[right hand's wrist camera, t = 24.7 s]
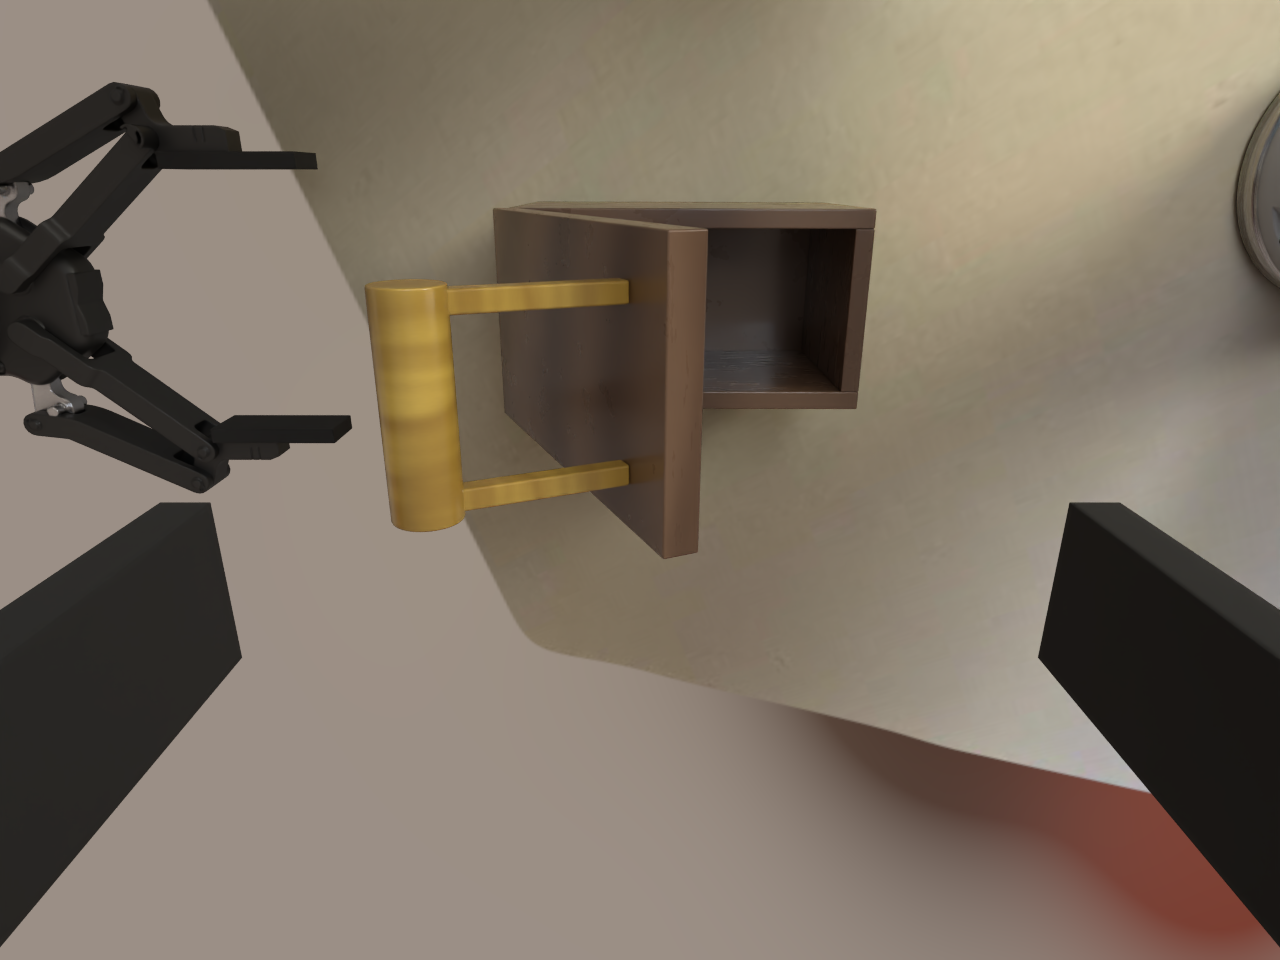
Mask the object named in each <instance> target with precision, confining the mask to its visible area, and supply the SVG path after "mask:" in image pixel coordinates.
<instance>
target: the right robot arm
mask: <svg viewBox="0 0 1280 960" xmlns="http://www.w3.org/2000/svg"><path fill="white" fill-rule="evenodd" d="M1237 217H1238V224H1239V229H1240V234H1241V237H1242V240H1243V243H1244V246H1245V248H1246V250H1247V252H1248V255H1249V256H1250V258H1251V260H1252V261H1253V263H1254V264H1255V266H1256V267H1257V268H1258V270H1259V271H1260V272H1261V273H1262V274H1263V275H1264V276H1265V277H1266V278H1267V279H1268V280H1269V281H1270V282H1272V283H1273V284H1274V285H1276V286H1277V287H1279V288H1280V93H1279V94H1278V95H1277V97H1276V98H1275V99H1274V101H1273V102H1272V103H1271V105H1270V106H1269V108H1268V109H1267V111H1266V112H1265V114H1264V116H1263V117H1262V119H1261V121H1260V123H1259V124H1258V126H1257V128H1256V130H1255V132H1254V134H1253V136H1252V139H1251V141H1250V143H1249V146H1248V149H1247V151H1246V154H1245V157H1244V160H1243V164H1242V167H1241V172H1240V177H1239V182H1238V191H1237ZM241 658H242V655H241V650H240V646H239V641H238V636H237V631H236V626H235V621H234V616H233V611H232V606H231V601H230V596H229V592H228V587H227V582H226V577H225V572H224V567H223V562H222V557H221V553H220V548H219V543H218V538H217V533H216V528H215V523H214V518H213V513H212V508H211V503H159V504H158V505H156V506H154V507H153V508H151V509H150V510H149V511H147V512H145V513H144V514H142V515H141V516H140V517H138V518H137V519H135V520H134V521H132V522H131V523H129V524H128V525H126V526H125V527H123V528H122V529H120V530H119V531H117V532H116V533H114V534H113V535H111V536H110V537H108V538H107V539H105V540H104V541H102V542H101V543H99V544H98V545H96V546H95V547H93V548H92V549H90V550H89V551H87V552H86V553H84V554H83V555H81V556H80V557H78V558H77V559H76V560H74V561H72V562H71V563H69V564H68V565H67V566H65V567H64V568H62V569H61V570H59V571H58V572H56V573H55V574H53V575H52V576H50V577H49V578H47V579H46V580H44V581H43V582H41V583H40V584H38V585H37V586H35V587H34V588H32V589H31V590H29V591H28V592H26V593H25V594H23V595H22V596H20V597H19V598H17V599H16V600H14V601H13V602H11V603H10V604H8V605H7V606H5V607H4V608H2V609H1V610H0V947H1V946H2V944H3V943H4V942H5V941H6V940H7V938H8V937H9V936H10V935H11V934H12V932H13V931H14V930H15V929H16V928H17V926H18V925H19V924H20V923H21V922H22V920H23V919H24V918H25V917H26V916H27V914H28V913H29V912H30V911H31V910H32V908H33V907H34V906H35V905H36V904H37V902H38V901H39V900H40V899H41V898H42V896H43V895H44V894H45V893H46V892H47V890H48V889H49V888H50V887H51V886H52V885H53V883H54V882H55V881H56V880H57V878H58V877H59V876H60V875H61V874H62V872H63V871H64V870H65V869H66V868H67V866H68V865H69V864H70V863H71V862H72V861H73V859H74V858H75V857H76V856H77V855H78V853H79V852H80V851H81V850H82V849H83V847H84V846H85V845H86V844H87V843H88V841H89V840H90V839H91V838H92V837H93V835H94V834H95V833H96V832H97V831H98V829H99V828H100V827H101V826H102V825H103V823H104V822H105V821H106V820H107V819H108V817H109V816H110V815H111V814H112V813H113V811H114V810H115V809H116V808H117V807H118V805H119V804H120V803H121V802H122V801H123V799H124V798H125V797H126V796H127V795H128V793H129V792H130V791H131V790H132V789H133V787H134V786H135V785H136V784H137V783H138V781H139V780H140V779H141V778H142V777H143V775H144V774H145V773H146V772H147V771H148V769H149V768H150V767H151V766H152V765H153V763H154V762H155V761H156V760H157V759H158V757H159V756H160V755H161V754H162V753H163V751H164V750H165V749H166V748H167V747H168V746H169V744H170V743H171V742H172V741H173V740H174V738H175V737H176V736H177V735H178V734H179V732H180V731H181V730H182V729H183V728H184V726H185V725H186V724H187V723H188V722H189V720H190V719H191V718H192V717H193V715H194V714H195V713H196V712H197V711H198V710H199V708H200V707H201V706H202V705H203V703H204V702H205V701H206V700H207V699H208V698H209V696H210V695H211V694H212V693H213V692H214V690H215V689H216V688H217V687H218V686H219V684H220V683H221V682H222V681H223V680H224V678H225V677H226V676H227V675H228V674H229V672H230V671H231V670H232V669H233V668H234V666H235V665H236V664H237V663H238V662H239V660H240V659H241ZM1038 658H1039V659H1040V660H1041V662H1042V663H1043V664H1044V665H1045V666H1046V668H1047V669H1048V670H1049V671H1050V672H1051V674H1052V675H1053V676H1054V677H1055V678H1056V680H1057V681H1058V682H1059V683H1060V684H1061V686H1062V687H1063V688H1064V689H1065V690H1066V692H1067V693H1068V694H1069V695H1070V696H1071V698H1072V699H1073V700H1074V701H1075V702H1076V704H1077V705H1078V706H1079V707H1080V708H1081V710H1082V711H1083V712H1084V713H1085V714H1086V716H1087V717H1088V718H1089V719H1090V720H1091V722H1092V723H1093V724H1094V725H1095V726H1096V728H1097V729H1098V730H1099V731H1100V732H1101V734H1102V735H1103V736H1104V737H1105V738H1106V740H1107V741H1108V742H1109V743H1110V744H1111V746H1112V747H1113V748H1114V749H1115V750H1116V752H1117V753H1118V754H1119V755H1120V756H1121V758H1122V759H1123V760H1124V761H1125V762H1126V763H1127V765H1128V766H1129V767H1130V768H1131V769H1132V771H1133V772H1134V773H1135V774H1136V775H1137V777H1138V778H1139V779H1140V780H1141V781H1142V783H1143V784H1144V785H1145V786H1146V787H1147V789H1148V790H1149V791H1150V792H1151V793H1152V795H1153V796H1154V797H1155V798H1156V799H1157V801H1158V802H1159V803H1160V804H1161V805H1162V807H1163V808H1164V809H1165V810H1166V811H1167V813H1168V814H1169V815H1170V816H1171V817H1172V819H1173V820H1174V821H1175V822H1176V823H1177V825H1178V826H1179V827H1180V828H1181V829H1182V831H1183V832H1184V833H1185V834H1186V835H1187V837H1188V838H1189V839H1190V840H1191V841H1192V843H1193V844H1194V845H1195V846H1196V847H1197V848H1198V850H1199V851H1200V852H1201V853H1202V855H1203V856H1204V857H1205V858H1206V859H1207V860H1208V862H1209V863H1210V864H1211V865H1212V867H1213V868H1214V869H1215V870H1216V871H1217V872H1218V874H1219V875H1220V876H1221V877H1222V878H1223V880H1224V881H1225V882H1226V883H1227V885H1228V886H1229V887H1230V888H1231V889H1232V890H1233V892H1234V893H1235V894H1236V895H1237V896H1238V898H1239V899H1240V900H1241V901H1242V902H1243V904H1244V905H1245V906H1246V907H1247V908H1248V910H1249V911H1250V912H1251V913H1252V914H1253V916H1254V917H1255V918H1256V919H1257V920H1258V922H1259V923H1260V924H1261V925H1262V926H1263V927H1264V929H1265V930H1266V931H1267V932H1268V934H1269V935H1270V936H1271V937H1272V938H1273V940H1274V941H1275V942H1276V943H1277V944H1278V946H1279V947H1280V610H1279V609H1278V608H1276V607H1275V606H1273V605H1272V604H1270V603H1269V602H1267V601H1266V600H1264V599H1263V598H1261V597H1260V596H1258V595H1257V594H1255V593H1254V592H1252V591H1251V590H1249V589H1248V588H1246V587H1245V586H1243V585H1242V584H1240V583H1239V582H1237V581H1236V580H1234V579H1233V578H1231V577H1230V576H1228V575H1227V574H1225V573H1224V572H1222V571H1221V570H1219V569H1218V568H1216V567H1215V566H1214V565H1212V564H1211V563H1209V562H1208V561H1206V560H1205V559H1203V558H1202V557H1200V556H1199V555H1197V554H1196V553H1194V552H1193V551H1191V550H1190V549H1188V548H1187V547H1185V546H1184V545H1182V544H1181V543H1179V542H1178V541H1176V540H1175V539H1173V538H1172V537H1170V536H1169V535H1167V534H1166V533H1164V532H1163V531H1161V530H1160V529H1158V528H1157V527H1155V526H1154V525H1152V524H1151V523H1149V522H1148V521H1146V520H1145V519H1143V518H1142V517H1140V516H1139V515H1138V514H1136V513H1135V512H1133V511H1132V510H1130V509H1129V508H1127V507H1126V506H1124V505H1123V504H1121V503H1069V508H1068V513H1067V518H1066V523H1065V528H1064V533H1063V538H1062V543H1061V547H1060V552H1059V557H1058V562H1057V567H1056V572H1055V577H1054V582H1053V587H1052V592H1051V596H1050V601H1049V606H1048V611H1047V616H1046V621H1045V626H1044V631H1043V636H1042V641H1041V646H1040V650H1039V655H1038Z"/></svg>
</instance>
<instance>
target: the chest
mask: <svg viewBox="0 0 1280 960" xmlns="http://www.w3.org/2000/svg"><path fill="white" fill-rule="evenodd" d="M511 208H522V209H531V210H540V211H549V212H559V213H568V214H577V215H586V216H595V217H605V218H614V219H623V220H632V221H641V222H651V223H660V224H669V225H678V226H687V227H697V228H706V229H707V230H708V250H707V281H706V313H705V344H704V376H703V407H702V408H718V409H856V407H857V398H858V388H859V379H860V369H861V359H862V349H863V339H864V330H865V320H866V310H867V300H868V290H869V280H870V271H871V261H872V251H873V241H874V231H875V230H874V228H875V220H876V209H871V208H863V207H855V206H846V205H838V204H830V203H769V202H534V203H530V204H525V205H520V206H515V207H511Z"/></svg>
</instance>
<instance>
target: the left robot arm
mask: <svg viewBox="0 0 1280 960" xmlns="http://www.w3.org/2000/svg"><path fill="white" fill-rule="evenodd" d="M159 107H160V100H159V98H158V95H157V94H156V93H155V92H154V91H153V90H151V89H149V88H144V87H139V86H134V85H128V84H123V83H116V82H112V83H109V84H108V85H106V86H104V87H103V88H101V89H100V90H98V91H96V92H95V93H93V94H92V95H90V96H88V97H87V98H85V99H84V100H82V101H81V102H79V103H77V104H76V105H74V106H73V107H71V108H69V109H68V110H66V111H65V112H63V113H62V114H60V115H58V116H57V117H55V118H54V119H52V120H51V121H49V122H47V123H46V124H44V125H42V126H41V127H39V128H38V129H36V130H35V131H33V132H31V133H30V134H28V135H27V136H25V137H23V138H22V139H20V140H19V141H17V142H15V143H14V144H12V145H11V146H9V147H8V148H6V149H5V150H3V151H1V152H0V376H13V377H16V378H19V379H22V380H24V381H26V382H28V383H30V384H31V388H32V395H33V401H34V407H35V412H34V413H31V414H29V415H27V416H26V417H25V418H24V426H25V428H26V429H27V431H28V432H30V433H31V434H33V435H37V436H46V437H56V438H65V439H70V440H73V441H75V442H77V443H80V444H82V445H84V446H87V447H89V448H91V449H94V450H96V451H99V452H101V453H103V454H106V455H108V456H110V457H113V458H115V459H117V460H120V461H122V462H124V463H127V464H129V465H131V466H134V467H136V468H138V469H141V470H143V471H146V472H148V473H150V474H153V475H155V476H157V477H160V478H162V479H164V480H167V481H169V482H171V483H174V484H176V485H179V486H181V487H183V488H186V489H188V490H190V491H193V492H196V493H204V492H206V491H207V490H209V489H210V488H212V487H213V486H214V485H216V484H217V483H219V482H220V481H221V480H223V479H224V478H226V477H227V476H228V475H229V473H230V467H229V465H228V461H229V460H252V459H254V460H259V459H261V460H271V459H274V458H276V457H278V456H280V455H281V454H283V453H284V452H285V451H287V450H288V449H289V448H290V445H289V443H335V442H337V441H338V440H339V439H340V438H341V437H342V436H343V435H345V434H346V433H347V432H348V431H349V430H351V429H352V424H351V417H350V416H349V415H234V416H233V417H231V418H229V419H227V420H226V421H224V422H222V423H219V422H218V421H216V420H215V419H214V418H212V417H211V416H209V415H208V414H207V413H205V412H204V411H202V410H201V409H199V408H198V407H197V406H195V405H194V404H192V403H191V402H189V401H188V400H187V399H185V398H184V397H182V396H181V395H180V394H178V393H177V392H175V391H174V390H172V389H171V388H170V387H168V386H167V385H165V384H164V383H163V382H161V381H160V380H158V379H157V378H155V377H154V376H153V375H151V374H150V373H148V372H147V371H146V370H144V369H143V368H141V367H140V366H138V365H137V364H136V363H134V362H133V361H132V356H131V355H130V354H129V353H128V352H127V351H125V350H124V349H123V348H121V347H120V346H118V345H117V344H116V343H114V342H113V341H111V340H110V339H108V338H107V337H108V333H109V330H112V329H113V325H112V321H111V316H110V314H109V311H108V310H107V308H106V306H105V303H104V301H103V282H102V277H101V273H100V270H94V268H93V266H92V265H91V263H90V262H89V261H88V260H87V258H88V257H89V255H90V254H91V253H92V252H93V251H94V250H95V249H96V248H97V247H98V245H99V244H100V243H101V242H102V241H103V240H104V238H105V236H104V233H105V232H106V231H107V229H108V228H109V227H110V226H111V225H112V224H113V223H114V222H115V221H116V219H117V218H118V217H119V216H120V215H121V214H122V213H123V212H124V211H125V209H126V208H127V207H128V206H129V205H130V204H131V203H132V202H133V201H134V199H135V198H136V197H137V196H138V195H139V194H140V193H141V192H142V191H143V189H144V188H145V187H146V186H147V185H148V184H149V183H150V182H151V181H152V180H153V178H154V177H155V176H156V175H157V174H158V173H159V172H160V171H161V170H162V169H318V168H317V161H316V153H306V152H293V151H279V152H276V151H275V152H272V151H271V152H270V151H269V152H267V151H264V152H263V151H261V152H242V148H241V142H240V136H239V132H238V131H236V130H233V129H231V128H228V127H222V126H214V125H202V126H201V125H194V126H191V125H171V124H170V123H168V122H167V121H166V119H165V118H164V117H163V115H162V113H161V111H160V109H159ZM124 132H125V134H124V135H123V136H122V137H121V138H120V140H119V141H118V142H117V143H116V144H115V145H114V146H113V148H112V149H111V150H110V151H109V152H108V153H107V155H106V156H105V157H104V158H103V159H102V160H101V161H100V163H99V164H98V165H97V166H96V167H95V168H94V170H93V171H92V172H91V173H90V174H89V175H88V176H87V177H86V179H85V180H84V181H83V182H82V183H81V184H80V185H79V187H78V188H77V189H76V190H75V191H74V192H73V193H72V195H71V196H70V197H69V198H68V199H67V200H66V202H65V203H64V204H63V205H62V206H61V207H60V208H59V210H58V211H57V212H56V213H55V214H54V215H53V216H52V217H51V218H49V219H47V220H45V221H43V222H42V223H40V224H39V225H38V226H36V225H35V224H33V223H32V222H30V221H28V220H27V219H24V218H22V217H19V216H18V212H17V210H18V206H19V204H20V203H21V202H23V201H25V200H27V199H28V198H29V196H30V194H32V193H33V192H34V187H33V185H32V184H31V183H36V182H41V181H43V180H46V179H49V178H51V177H52V176H54V175H56V174H58V173H59V172H61V171H63V170H64V169H66V168H68V167H69V166H71V165H72V164H74V163H76V162H77V161H79V160H81V159H82V158H84V157H85V156H87V155H89V154H90V153H92V152H94V151H95V150H97V149H98V148H100V147H102V146H103V145H105V144H107V143H108V142H110V141H111V140H113V139H115V138H116V137H118V136H120V135H121V134H123V133H124ZM90 356H92V357H93V358H94V359H88V358H89V357H90ZM66 377H68V378H70V379H71V380H73V381H74V382H76V383H77V384H79V385H81V386H84V387H90V388H94V389H95V390H97V391H99V392H100V393H101V394H103V395H104V396H106V397H107V398H109V399H110V400H112V401H113V402H114V403H116V404H117V405H119V406H120V407H122V408H123V409H125V410H126V411H128V412H129V413H130V414H132V415H133V416H135V417H136V418H138V419H139V420H141V421H142V422H144V423H145V424H146V425H148V426H149V427H151V428H152V429H151V428H149V427H147V426H144V425H142V424H140V423H137V422H135V421H133V420H130V419H128V418H126V417H124V416H121V415H119V414H117V413H114V412H112V411H109V410H107V409H104V408H101V407H97V406H93V405H87V400H86V398H85V397H83V396H77V395H75V394H72V393H70V392H68V391H67V390H66V389H65V388H64V387H63V385H62V383H61V380H62V379H64V378H66Z"/></svg>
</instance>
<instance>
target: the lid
mask: <svg viewBox="0 0 1280 960" xmlns="http://www.w3.org/2000/svg"><path fill="white" fill-rule="evenodd" d="M493 218H494V235H495V253H496V270H497V284H484V285H463V286H447V283H446V282H443V281H438V280H425V279H404V280H387V281H378V282H372V283H369V284H366V285H365V287H364V288H365V297H366V305H367V314H368V323H369V331H370V340H371V349H372V357H373V366H374V375H375V383H376V392H377V401H378V409H379V418H380V427H381V435H382V444H383V453H384V461H385V470H386V478H387V487H388V496H389V505H390V513H391V521H392V523H393V525H394V526H395V527H397V528H399V529H402V530H405V531H411V532H429V531H437V530H441V529H446V528H449V527H451V526H454V525H456V524H458V523H459V522H461V521H462V520H463V519H464V517H465V511H468V510H475V509H481V508H487V507H494V506H500V505H506V504H513V503H519V502H525V501H532V500H538V499H544V498H551V497H557V496H563V495H570V494H576V493H582V492H588V491H590V492H591V493H592V494H593V495H594V496H596V497H597V498H598V499H599V500H600V501H601V502H602V503H603V504H604V505H605V506H606V507H607V508H609V509H610V510H611V511H612V512H613V513H614V514H615V515H616V516H617V517H618V518H619V519H620V520H622V521H623V522H624V523H625V524H626V525H627V526H628V527H629V528H630V529H631V530H632V531H633V532H635V533H636V534H637V535H638V536H639V537H640V538H641V539H642V540H643V541H644V542H645V543H646V544H648V545H649V546H650V547H651V548H652V549H653V550H654V551H655V552H656V553H657V554H658V555H659V556H660V557H662V558H663V559H667V558H672V557H677V556H682V555H687V554H692V553H697V552H698V532H699V501H700V470H701V438H702V407H703V376H704V344H705V313H706V281H707V250H708V230H707V229H706V228H697V227H687V226H678V225H669V224H660V223H651V222H641V221H632V220H623V219H614V218H605V217H595V216H586V215H577V214H568V213H559V212H549V211H540V210H531V209H522V208H494V209H493ZM496 312H499V321H500V339H501V356H502V373H503V390H504V408H505V413H506V414H507V415H508V416H509V417H510V418H511V419H512V420H513V421H514V422H515V423H516V424H518V425H519V426H520V427H521V428H522V429H523V430H524V431H525V432H526V433H527V434H528V435H529V436H531V437H532V438H533V439H534V440H535V441H536V442H537V443H538V444H539V445H540V446H541V447H542V448H544V449H545V450H546V451H547V452H548V453H549V454H550V455H551V456H552V457H553V458H554V459H555V460H557V461H558V462H559V463H560V464H561V465H562V466H563V467H564V468H560V469H553V470H546V471H539V472H532V473H525V474H518V475H511V476H504V477H497V478H490V479H483V480H476V481H469V482H463V477H462V465H461V452H460V440H459V427H458V414H457V402H456V389H455V377H454V364H453V352H452V339H451V327H450V315H463V314H479V313H496Z"/></svg>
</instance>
